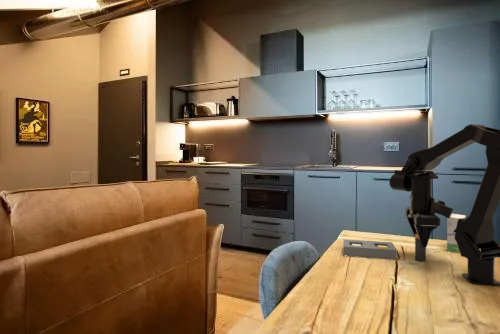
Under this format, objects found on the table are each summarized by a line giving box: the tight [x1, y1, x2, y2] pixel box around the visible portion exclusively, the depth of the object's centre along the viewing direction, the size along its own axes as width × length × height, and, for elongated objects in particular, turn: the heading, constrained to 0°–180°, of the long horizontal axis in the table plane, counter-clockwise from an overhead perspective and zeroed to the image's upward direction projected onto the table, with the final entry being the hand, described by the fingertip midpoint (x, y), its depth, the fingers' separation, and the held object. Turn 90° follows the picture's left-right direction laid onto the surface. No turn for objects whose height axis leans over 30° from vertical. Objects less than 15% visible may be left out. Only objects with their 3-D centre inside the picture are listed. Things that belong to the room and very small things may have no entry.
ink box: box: [446, 213, 467, 253], centre depth 116 cm, size 8×5×12 cm, turn 143°
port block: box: [343, 239, 398, 260], centre depth 111 cm, size 10×16×4 cm, turn 75°
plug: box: [414, 234, 427, 263], centre depth 103 cm, size 3×3×8 cm
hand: (420, 243), depth 103 cm, fingers open, 9 cm apart
